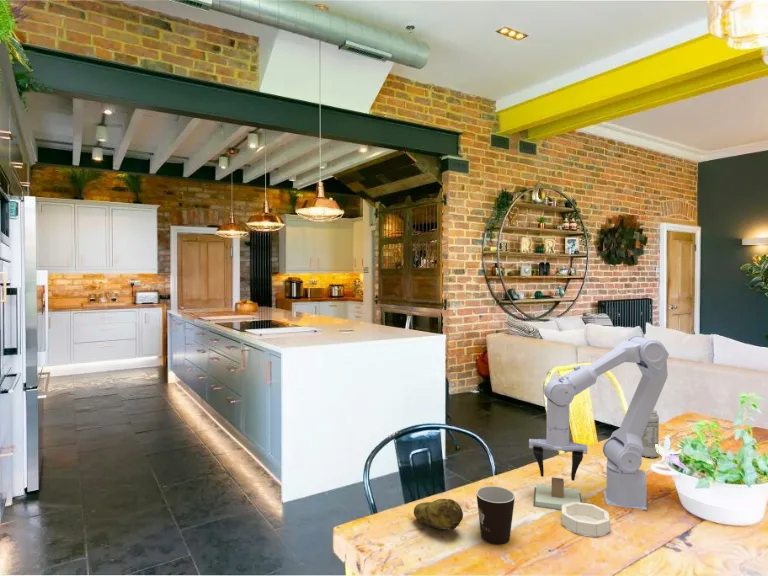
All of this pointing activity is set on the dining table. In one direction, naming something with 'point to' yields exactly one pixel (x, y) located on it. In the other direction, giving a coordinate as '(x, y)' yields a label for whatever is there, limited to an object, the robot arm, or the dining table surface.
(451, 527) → the potato
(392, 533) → the dining table surface
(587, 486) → the dining table surface
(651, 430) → the energy drink can
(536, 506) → the mat
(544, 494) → the lid
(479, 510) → the coffee mug
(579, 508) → the dish
